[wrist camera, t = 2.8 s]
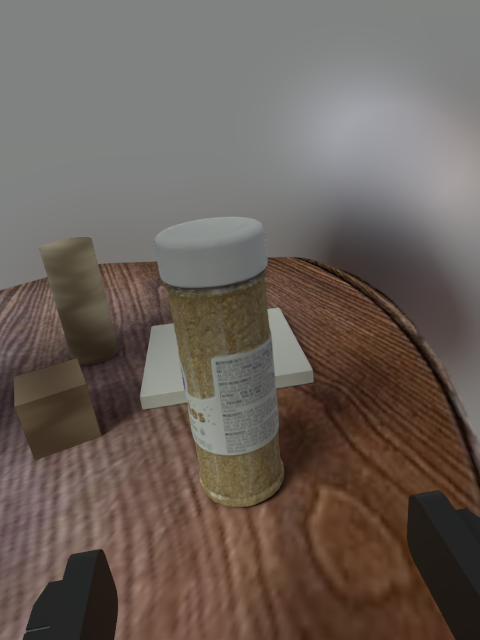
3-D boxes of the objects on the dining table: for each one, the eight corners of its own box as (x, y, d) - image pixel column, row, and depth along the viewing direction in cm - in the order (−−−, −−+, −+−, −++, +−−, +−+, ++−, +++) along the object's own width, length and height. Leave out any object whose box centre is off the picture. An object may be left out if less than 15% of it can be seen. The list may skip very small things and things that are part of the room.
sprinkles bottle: (191, 464, 25) (144, 226, 19) (266, 440, 26) (241, 209, 21) (214, 526, 21) (163, 247, 15) (301, 494, 22) (282, 224, 17)
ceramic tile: (142, 409, 30) (139, 397, 30) (153, 336, 41) (151, 326, 41) (313, 382, 31) (313, 370, 31) (279, 317, 42) (279, 307, 42)
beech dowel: (67, 368, 37) (32, 253, 33) (78, 347, 41) (47, 241, 37) (115, 361, 38) (86, 246, 34) (121, 341, 41) (95, 234, 37)
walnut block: (35, 461, 27) (14, 406, 25) (32, 427, 30) (13, 376, 29) (101, 437, 28) (86, 383, 27) (91, 407, 32) (77, 358, 30)
